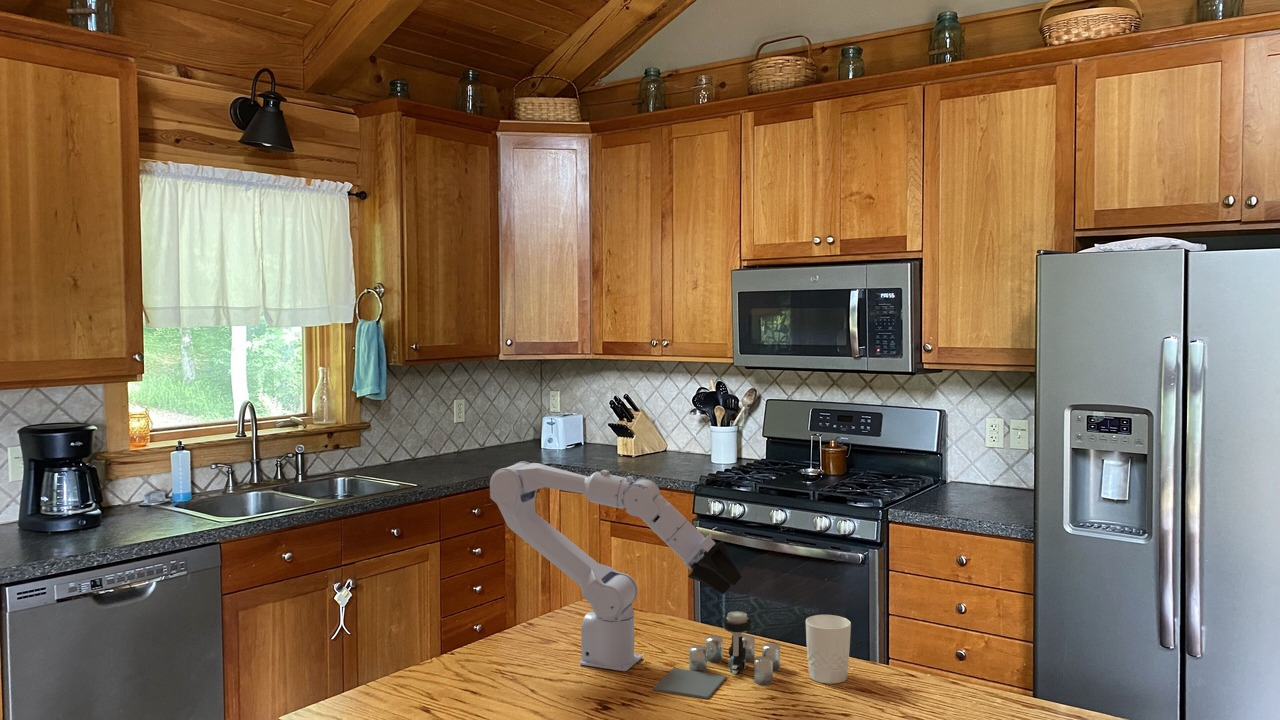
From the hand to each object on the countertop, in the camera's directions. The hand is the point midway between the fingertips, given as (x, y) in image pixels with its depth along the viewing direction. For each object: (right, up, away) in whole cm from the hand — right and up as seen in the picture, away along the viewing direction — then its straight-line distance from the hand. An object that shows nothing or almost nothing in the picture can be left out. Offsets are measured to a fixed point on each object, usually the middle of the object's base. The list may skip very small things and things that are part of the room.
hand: (732, 586), depth 170 cm
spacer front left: (-6, -16, +3) cm, 17 cm away
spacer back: (+3, -16, +9) cm, 18 cm away
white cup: (+17, -16, 0) cm, 24 cm away
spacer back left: (-3, -16, +8) cm, 18 cm away
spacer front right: (+5, -16, -2) cm, 17 cm away
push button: (+1, -16, +3) cm, 17 cm away
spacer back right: (+8, -16, +4) cm, 18 cm away
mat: (-8, -16, -3) cm, 18 cm away
